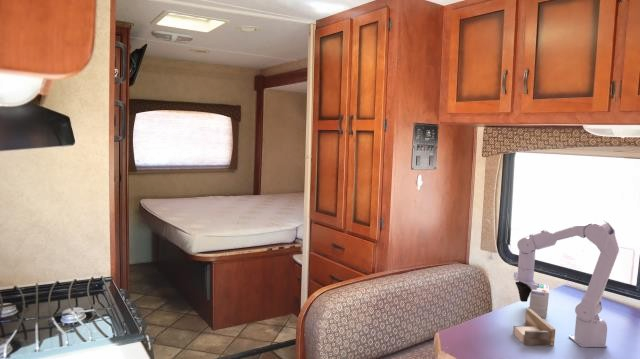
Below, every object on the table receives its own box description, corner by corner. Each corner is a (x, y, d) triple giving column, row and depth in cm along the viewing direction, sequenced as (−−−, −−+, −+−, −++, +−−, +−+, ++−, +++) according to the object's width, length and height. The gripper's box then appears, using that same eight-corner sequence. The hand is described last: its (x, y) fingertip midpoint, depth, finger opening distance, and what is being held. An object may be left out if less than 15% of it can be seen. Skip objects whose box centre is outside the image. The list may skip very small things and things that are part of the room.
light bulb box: (529, 306, 197) (531, 282, 196) (546, 309, 194) (549, 284, 193) (528, 315, 187) (530, 290, 186) (547, 318, 184) (549, 293, 183)
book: (534, 333, 171) (535, 326, 171) (544, 342, 164) (544, 334, 164) (513, 333, 171) (514, 326, 171) (522, 342, 164) (522, 334, 164)
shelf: (529, 323, 180) (530, 308, 179) (554, 345, 162) (555, 329, 161) (503, 323, 180) (504, 308, 179) (525, 345, 162) (526, 329, 161)
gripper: (507, 261, 185) (505, 294, 187) (525, 273, 171) (522, 308, 172) (524, 261, 185) (522, 294, 187) (543, 273, 171) (540, 308, 173)
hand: (523, 301), depth 180 cm, fingers closed
